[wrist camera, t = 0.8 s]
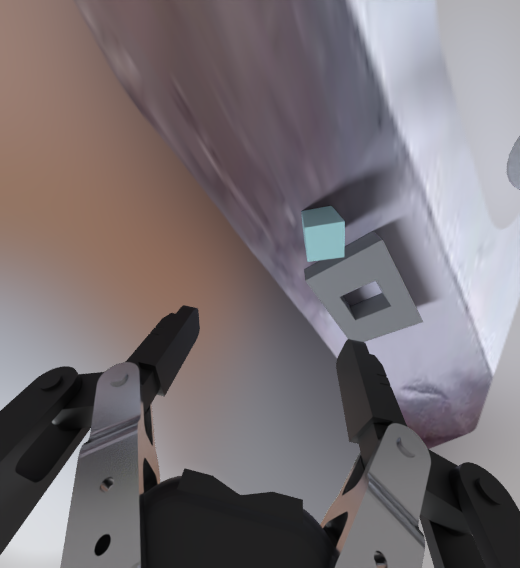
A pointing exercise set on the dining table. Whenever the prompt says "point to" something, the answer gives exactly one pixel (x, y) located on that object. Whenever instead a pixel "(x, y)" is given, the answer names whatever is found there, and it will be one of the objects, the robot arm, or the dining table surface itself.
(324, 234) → the teal rectangular block
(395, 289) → the grey slotted block
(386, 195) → the dining table surface
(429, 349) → the dining table surface
